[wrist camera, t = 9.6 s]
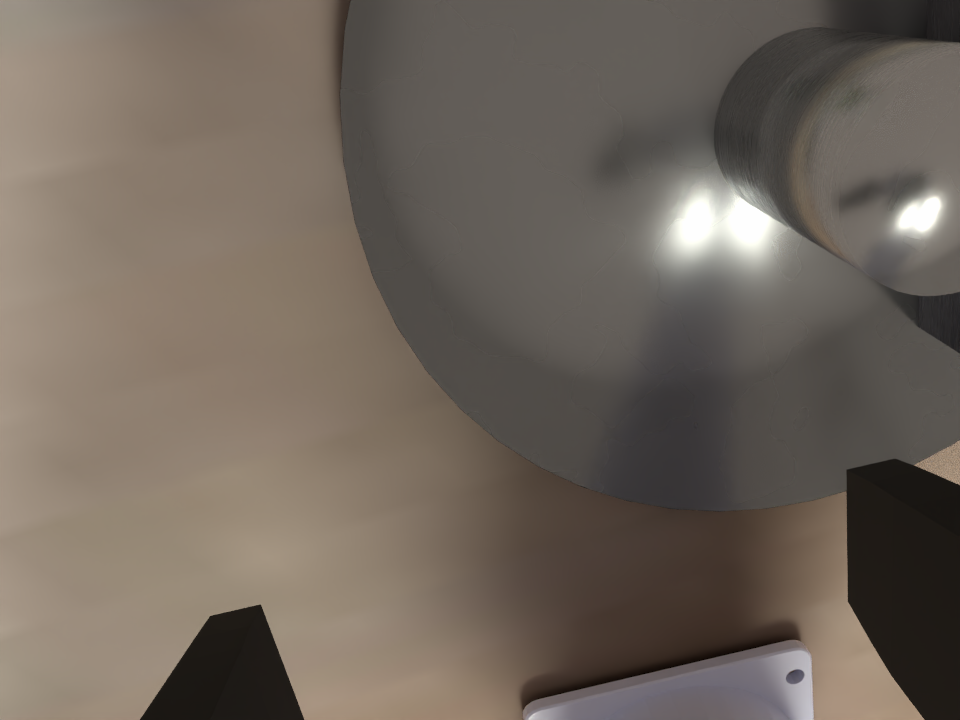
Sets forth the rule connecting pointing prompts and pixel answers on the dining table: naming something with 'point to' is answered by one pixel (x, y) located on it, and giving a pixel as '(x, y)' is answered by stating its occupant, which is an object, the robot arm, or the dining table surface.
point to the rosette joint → (670, 231)
